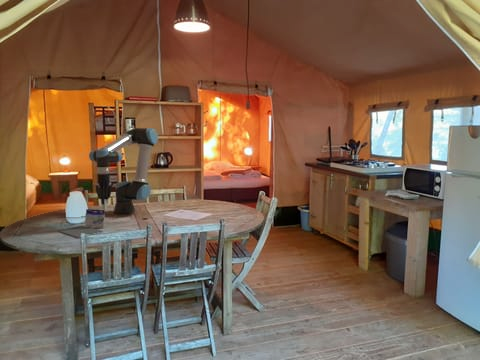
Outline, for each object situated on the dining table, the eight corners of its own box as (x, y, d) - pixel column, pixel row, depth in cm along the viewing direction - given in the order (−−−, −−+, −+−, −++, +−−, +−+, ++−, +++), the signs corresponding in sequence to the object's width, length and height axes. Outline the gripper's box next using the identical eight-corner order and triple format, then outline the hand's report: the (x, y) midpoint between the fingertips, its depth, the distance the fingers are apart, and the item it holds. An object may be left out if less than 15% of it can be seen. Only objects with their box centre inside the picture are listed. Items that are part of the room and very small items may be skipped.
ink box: (84, 227, 235) (85, 209, 234) (85, 227, 237) (85, 209, 236) (103, 228, 238) (104, 210, 237) (104, 227, 240) (104, 209, 239)
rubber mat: (82, 226, 242) (82, 225, 242) (102, 231, 230) (102, 231, 230) (58, 231, 230) (58, 230, 229) (78, 238, 217) (78, 237, 217)
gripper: (97, 174, 232) (99, 211, 235) (115, 172, 242) (116, 208, 245) (90, 173, 236) (92, 210, 239) (108, 171, 246) (109, 206, 250)
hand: (104, 209), depth 242 cm, fingers closed
